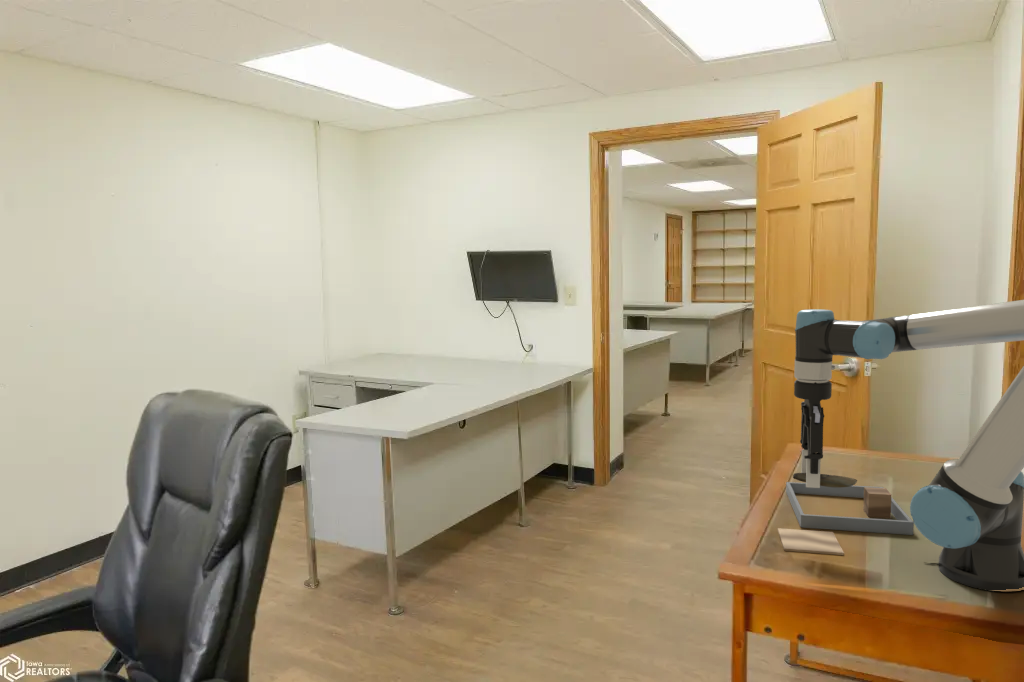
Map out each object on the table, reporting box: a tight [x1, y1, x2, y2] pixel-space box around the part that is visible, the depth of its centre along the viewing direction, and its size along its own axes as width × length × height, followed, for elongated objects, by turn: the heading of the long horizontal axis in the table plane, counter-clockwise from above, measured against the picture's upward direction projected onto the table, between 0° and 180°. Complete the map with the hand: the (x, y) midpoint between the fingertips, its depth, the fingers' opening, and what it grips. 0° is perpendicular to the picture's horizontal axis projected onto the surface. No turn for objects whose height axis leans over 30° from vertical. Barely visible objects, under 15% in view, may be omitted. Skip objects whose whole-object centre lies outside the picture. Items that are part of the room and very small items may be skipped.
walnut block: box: [862, 487, 892, 519], centre depth 170 cm, size 5×5×6 cm
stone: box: [792, 472, 858, 488], centre depth 150 cm, size 13×5×2 cm, turn 57°
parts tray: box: [785, 481, 915, 536], centre depth 172 cm, size 26×24×3 cm
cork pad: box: [777, 527, 845, 556], centre depth 154 cm, size 12×12×1 cm
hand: (810, 482), depth 152 cm, fingers closed on stone, 6 cm apart
